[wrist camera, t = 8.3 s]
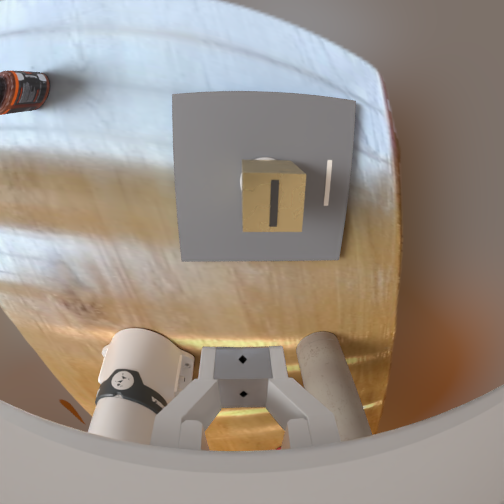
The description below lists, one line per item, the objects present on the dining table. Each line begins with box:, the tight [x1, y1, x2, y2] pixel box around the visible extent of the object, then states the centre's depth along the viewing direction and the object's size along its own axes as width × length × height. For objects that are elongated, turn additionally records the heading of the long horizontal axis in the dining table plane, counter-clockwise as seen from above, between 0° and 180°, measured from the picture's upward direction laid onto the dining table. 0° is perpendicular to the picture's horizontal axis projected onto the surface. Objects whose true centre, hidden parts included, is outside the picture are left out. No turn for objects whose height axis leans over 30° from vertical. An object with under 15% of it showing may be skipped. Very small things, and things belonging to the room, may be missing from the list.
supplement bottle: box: [0, 71, 49, 115], centre depth 21 cm, size 6×6×11 cm
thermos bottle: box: [296, 332, 372, 442], centre depth 37 cm, size 8×8×28 cm
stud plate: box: [172, 91, 356, 261], centre depth 31 cm, size 22×22×10 cm
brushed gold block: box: [242, 160, 306, 232], centre depth 29 cm, size 6×6×8 cm
